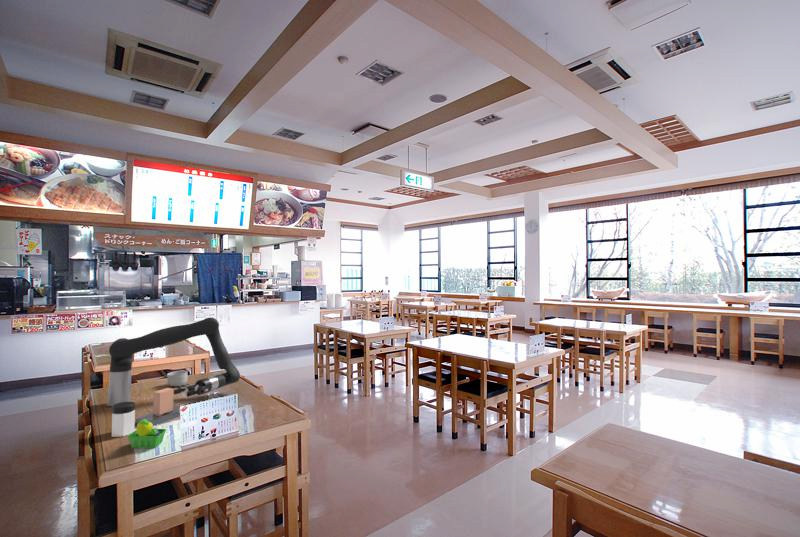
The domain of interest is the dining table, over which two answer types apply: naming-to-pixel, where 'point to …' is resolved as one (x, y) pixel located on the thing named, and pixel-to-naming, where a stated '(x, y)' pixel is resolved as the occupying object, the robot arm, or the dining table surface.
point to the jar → (123, 419)
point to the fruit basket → (146, 435)
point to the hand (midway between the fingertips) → (180, 393)
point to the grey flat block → (160, 419)
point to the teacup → (177, 378)
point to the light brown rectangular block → (163, 401)
